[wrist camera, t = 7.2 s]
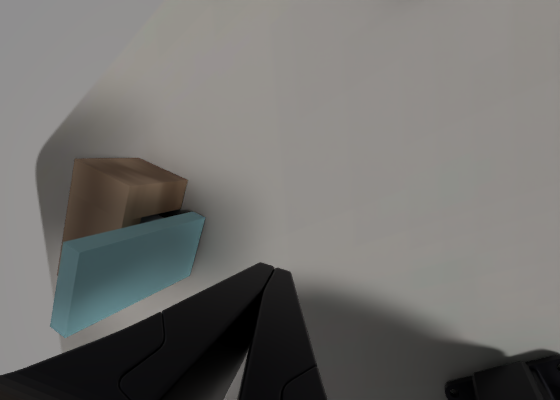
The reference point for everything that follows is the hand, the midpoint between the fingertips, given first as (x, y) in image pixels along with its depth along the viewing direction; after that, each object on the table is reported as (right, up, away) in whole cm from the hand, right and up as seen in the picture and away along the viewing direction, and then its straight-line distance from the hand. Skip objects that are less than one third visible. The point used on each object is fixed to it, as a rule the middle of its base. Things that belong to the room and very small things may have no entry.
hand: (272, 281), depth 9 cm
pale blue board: (-9, 0, +18) cm, 20 cm away
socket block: (-10, 0, +19) cm, 22 cm away
